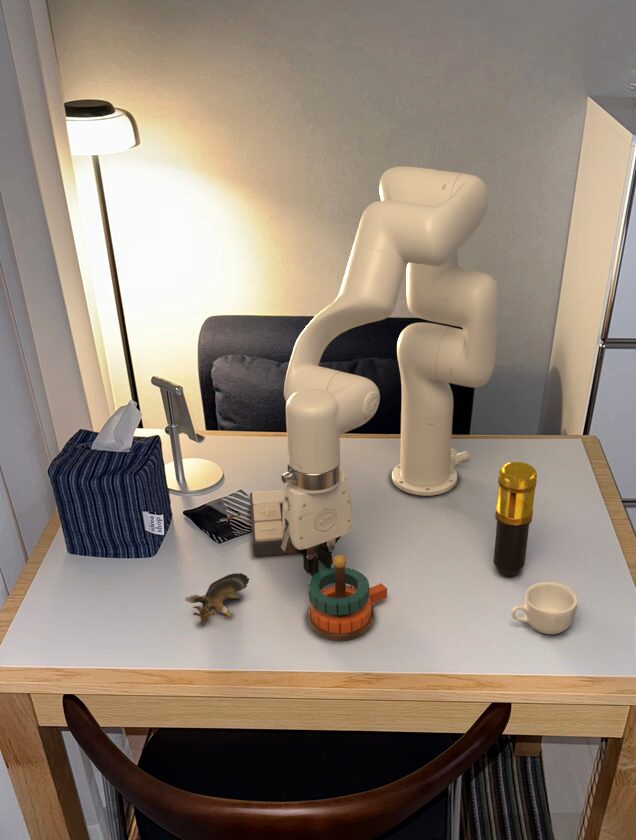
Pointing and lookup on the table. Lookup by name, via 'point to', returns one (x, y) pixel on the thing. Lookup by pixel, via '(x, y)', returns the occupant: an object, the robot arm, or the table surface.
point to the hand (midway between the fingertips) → (318, 570)
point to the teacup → (548, 607)
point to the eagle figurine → (219, 595)
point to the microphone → (513, 516)
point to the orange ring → (351, 621)
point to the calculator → (267, 523)
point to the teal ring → (337, 604)
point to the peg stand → (339, 593)
